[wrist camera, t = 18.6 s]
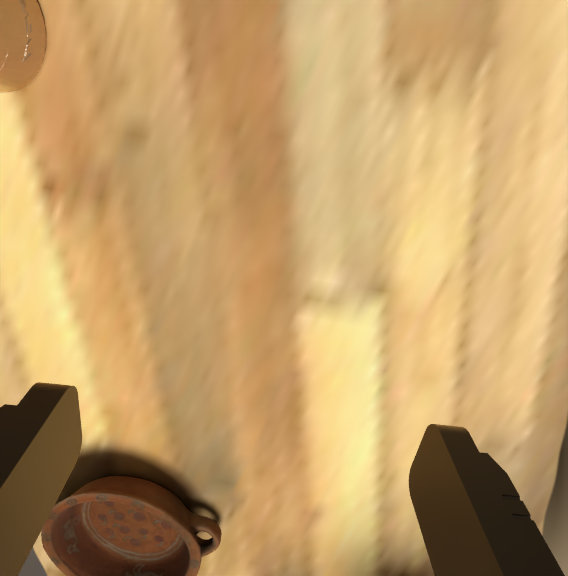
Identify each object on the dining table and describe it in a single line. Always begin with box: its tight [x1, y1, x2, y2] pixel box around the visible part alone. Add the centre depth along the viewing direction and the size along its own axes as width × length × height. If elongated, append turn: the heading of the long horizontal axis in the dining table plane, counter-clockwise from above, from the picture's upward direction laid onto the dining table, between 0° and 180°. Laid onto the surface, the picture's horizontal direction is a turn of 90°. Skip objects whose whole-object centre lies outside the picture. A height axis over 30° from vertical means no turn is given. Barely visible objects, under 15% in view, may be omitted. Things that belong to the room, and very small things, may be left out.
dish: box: [41, 476, 221, 576], centre depth 49 cm, size 18×22×5 cm
